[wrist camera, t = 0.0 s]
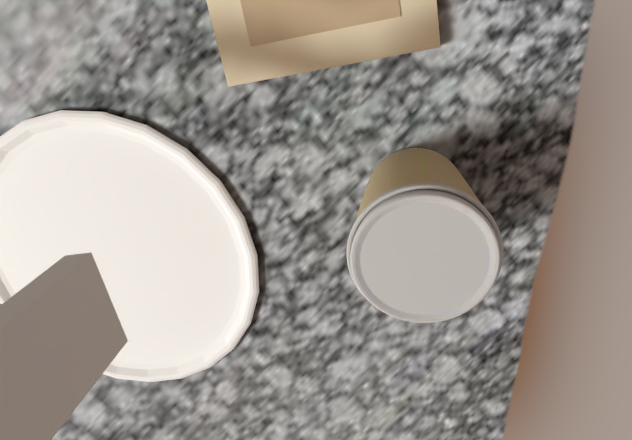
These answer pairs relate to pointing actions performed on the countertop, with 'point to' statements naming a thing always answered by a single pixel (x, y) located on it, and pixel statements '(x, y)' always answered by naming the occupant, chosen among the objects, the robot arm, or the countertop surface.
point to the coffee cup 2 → (423, 240)
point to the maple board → (316, 34)
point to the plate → (130, 235)
